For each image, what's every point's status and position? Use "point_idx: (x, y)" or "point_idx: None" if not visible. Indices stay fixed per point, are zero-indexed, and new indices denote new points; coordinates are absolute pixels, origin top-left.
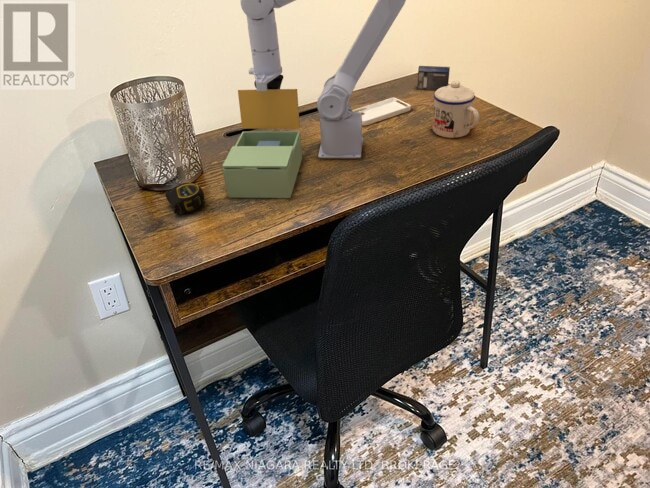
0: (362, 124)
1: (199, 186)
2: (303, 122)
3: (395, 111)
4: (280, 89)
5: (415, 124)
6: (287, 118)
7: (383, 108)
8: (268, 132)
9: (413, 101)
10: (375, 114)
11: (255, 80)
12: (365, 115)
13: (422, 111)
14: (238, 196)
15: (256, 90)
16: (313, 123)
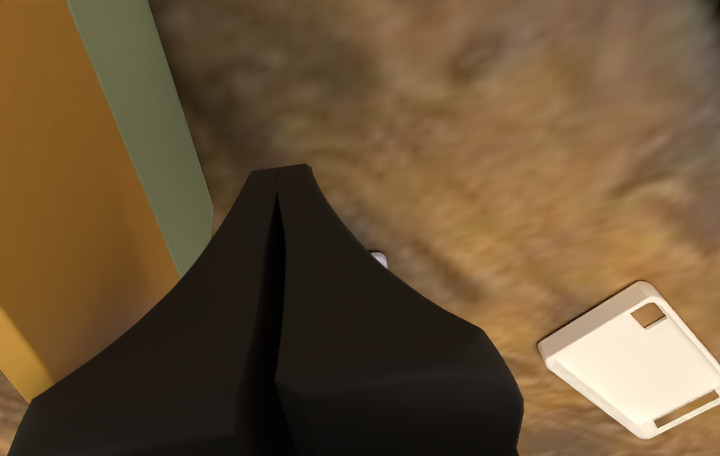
0: (543, 343)
1: None
2: (638, 100)
3: (612, 416)
4: None
5: (526, 448)
6: None
7: (676, 366)
8: None
9: (706, 416)
10: (629, 357)
11: (169, 446)
12: (630, 332)
13: (618, 444)
14: None
15: (13, 380)
16: (610, 156)
